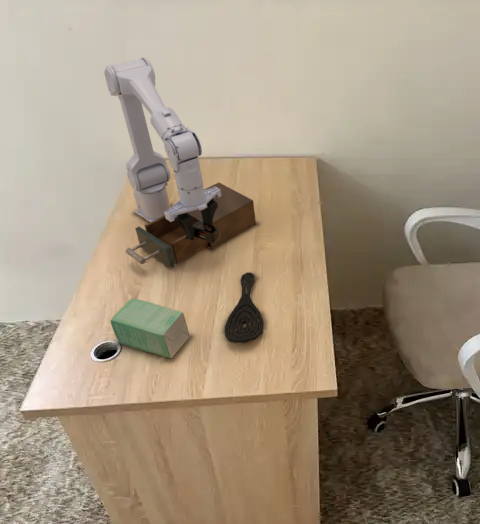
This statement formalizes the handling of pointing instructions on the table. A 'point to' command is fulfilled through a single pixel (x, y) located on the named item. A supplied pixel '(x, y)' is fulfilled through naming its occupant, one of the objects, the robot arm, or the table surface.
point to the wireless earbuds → (205, 232)
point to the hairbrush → (244, 316)
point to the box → (150, 327)
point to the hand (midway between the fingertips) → (199, 232)
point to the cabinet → (229, 214)
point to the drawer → (165, 242)
